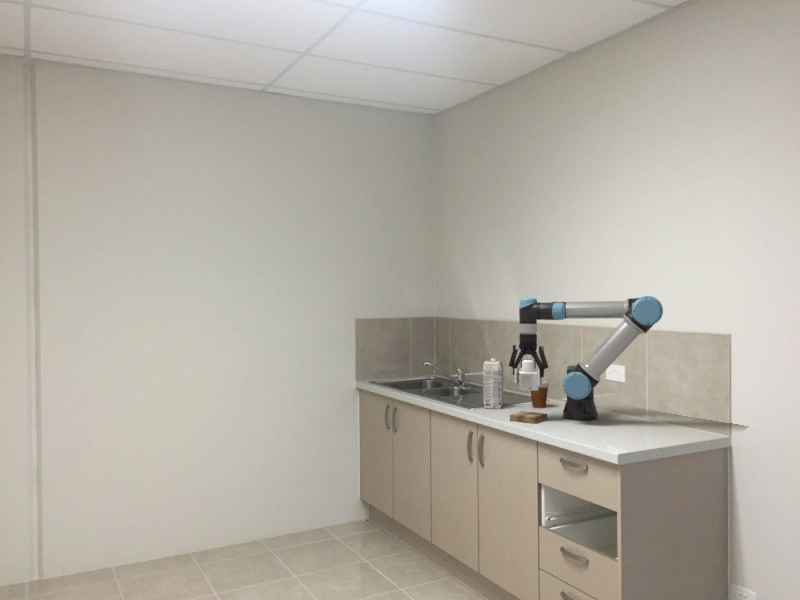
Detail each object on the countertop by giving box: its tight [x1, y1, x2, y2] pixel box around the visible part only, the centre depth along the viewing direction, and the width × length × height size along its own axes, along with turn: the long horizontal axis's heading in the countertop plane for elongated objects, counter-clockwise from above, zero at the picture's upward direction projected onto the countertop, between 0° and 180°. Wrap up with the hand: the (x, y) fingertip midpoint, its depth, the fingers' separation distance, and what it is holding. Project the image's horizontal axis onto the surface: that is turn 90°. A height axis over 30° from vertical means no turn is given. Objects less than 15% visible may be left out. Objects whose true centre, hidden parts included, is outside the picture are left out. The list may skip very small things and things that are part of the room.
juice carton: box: [482, 357, 504, 410], centre depth 338 cm, size 9×8×24 cm
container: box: [517, 358, 538, 392], centre depth 306 cm, size 8×8×13 cm
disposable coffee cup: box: [529, 380, 550, 409], centre depth 340 cm, size 10×10×12 cm
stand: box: [509, 410, 548, 425], centre depth 306 cm, size 12×12×3 cm
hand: (528, 383), depth 306 cm, fingers closed on container, 10 cm apart
